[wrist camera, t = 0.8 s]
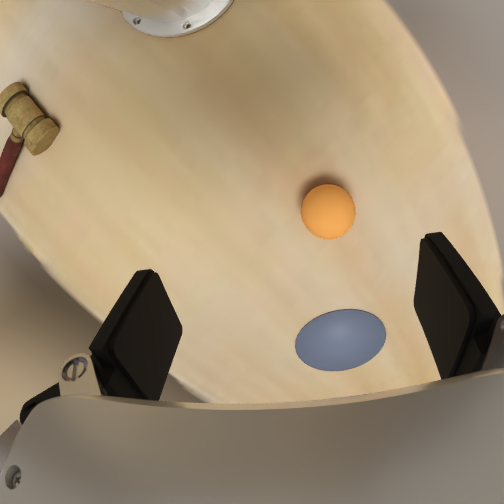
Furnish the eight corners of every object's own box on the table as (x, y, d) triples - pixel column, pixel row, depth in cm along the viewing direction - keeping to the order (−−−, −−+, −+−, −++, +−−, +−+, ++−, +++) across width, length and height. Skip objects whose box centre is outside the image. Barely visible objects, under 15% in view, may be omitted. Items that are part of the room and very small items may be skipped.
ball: (295, 181, 32) (297, 201, 27) (346, 173, 31) (357, 192, 26) (304, 227, 34) (307, 253, 30) (352, 219, 33) (362, 244, 29)
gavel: (0, 231, 36) (-32, 189, 32) (17, 216, 39) (-14, 177, 36) (41, 134, 26) (2, 85, 23) (65, 124, 30) (26, 78, 26)
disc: (288, 317, 42) (288, 318, 42) (387, 301, 39) (388, 302, 39) (301, 374, 49) (301, 375, 49) (383, 362, 46) (383, 363, 46)
